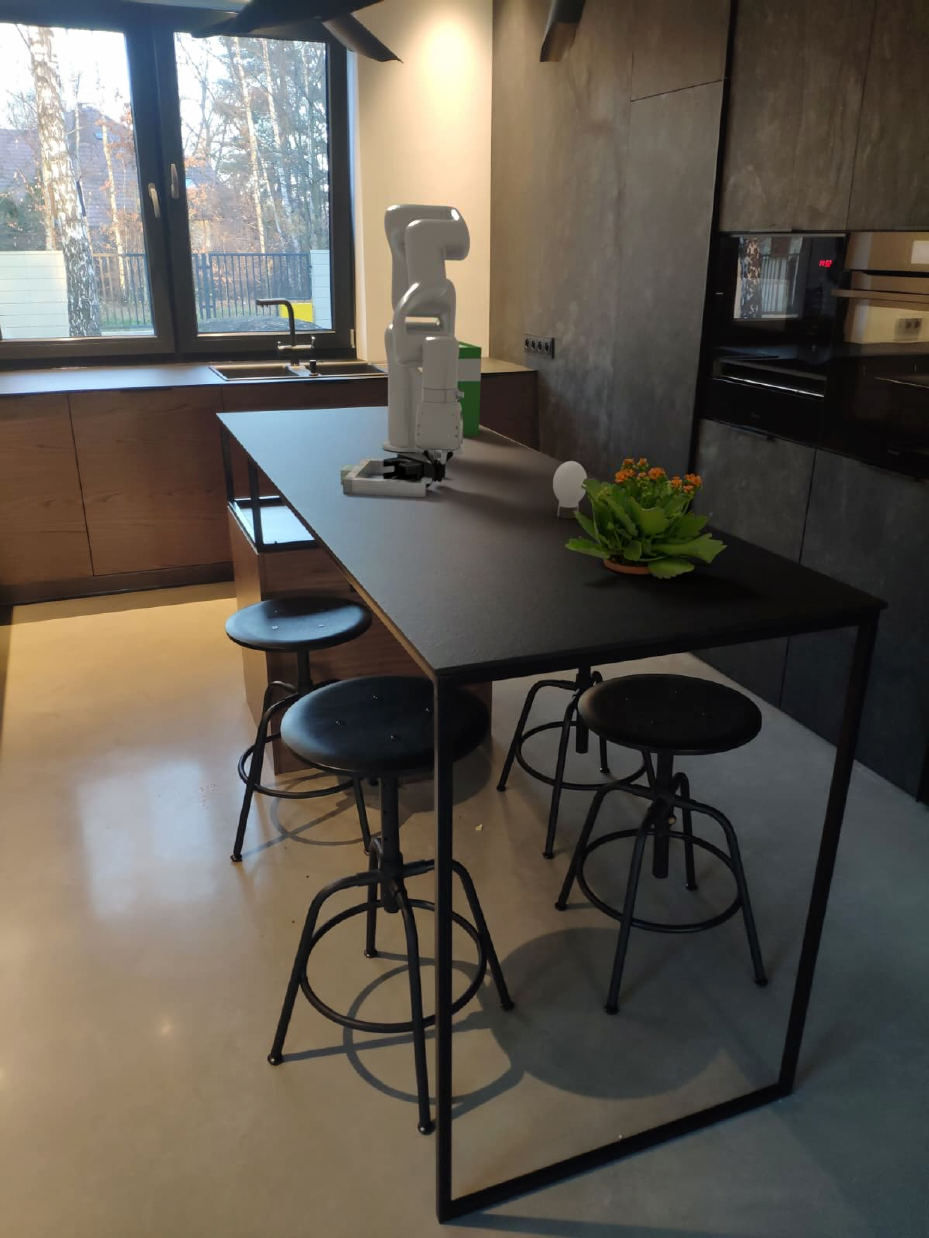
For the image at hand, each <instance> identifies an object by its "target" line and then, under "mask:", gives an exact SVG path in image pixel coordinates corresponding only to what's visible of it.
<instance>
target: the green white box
mask: <svg viewBox="0 0 929 1238" xmlns="http://www.w3.org/2000/svg"><path fill="white" fill-rule="evenodd" d="M457 341H458V342H459V357H458V381H457V388H458V390H459V391H461V392H464V398H460V399H458V400H457V402H460V403H461V408H462V419H463V437H464V436H480V435H479V434H480V409H481V408H480V403H481V377H482V376H481V375H482V374H481V373H482V350H483V349H482V346H477V345H474V344H471V343H468V342H464V341H460V340H457Z"/></svg>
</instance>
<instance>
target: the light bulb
mask: <svg viewBox="0 0 929 1238" xmlns="http://www.w3.org/2000/svg"><path fill="white" fill-rule="evenodd" d="M586 478H588V476H587V473H586V470H585V469H584V467H583V466H582V465H581V464H580V463H579V462H576V461H574V460H569V461H565V462H563V463H562V464H560V465H559V466H558V467H557V469H556V471H555V472H554V475H553V478H552V479H553V480H552V489H553V492H554V496H555V497H556V499H557V500H558V506H557V517H558V518H563V519H577V518H576V515H575V514H574V511H577V512H579V502H580V501H582V499H583V498H584V497H585V494H586V492H587V491H585V490H584V489H583V488H582V487H581V485H583V486H586V485H584V484H583V481H584V479H586Z"/></svg>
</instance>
